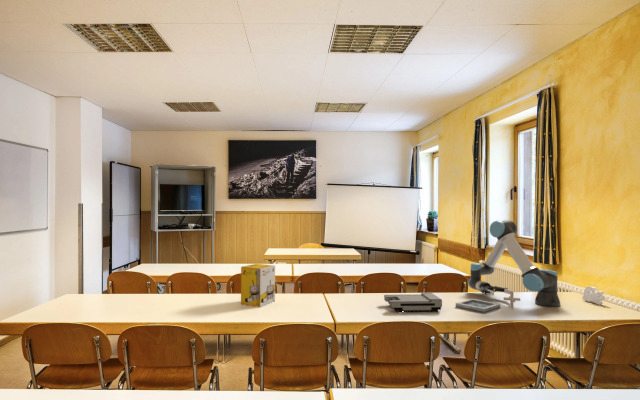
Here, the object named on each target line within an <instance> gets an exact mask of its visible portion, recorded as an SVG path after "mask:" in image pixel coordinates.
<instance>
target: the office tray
mask: <svg viewBox="0 0 640 400" xmlns="http://www.w3.org/2000/svg"><path fill="white" fill-rule="evenodd" d="M383 295H384V296H383V299H384V302H387V303H388V304H389V306H390V308H391V309H393V310H394V311H397V310H398V311H399V312H402V311H404V312H406V313H438V312H439V310H440V311H441V310H442V307H443V299H442V298H440V297H439V296H437V295H436V294H434V293H433V292H421V294H383ZM398 311H397V312H398ZM399 312H398V313H399Z"/></svg>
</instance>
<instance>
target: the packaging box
mask: <svg viewBox="0 0 640 400" xmlns="http://www.w3.org/2000/svg"><path fill="white" fill-rule="evenodd" d="M272 302H274V303H276V265H274V264H273V265H271V264H262V263H253V264H248V265H243V266H240V305H243V304H246V305H245V306H250V305H252V306H251V307H256V306H258V307H257V308H262V307H265V306H268V305H271V304H273V303H272ZM270 303H271V304H270ZM267 304H268V305H267Z"/></svg>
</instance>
